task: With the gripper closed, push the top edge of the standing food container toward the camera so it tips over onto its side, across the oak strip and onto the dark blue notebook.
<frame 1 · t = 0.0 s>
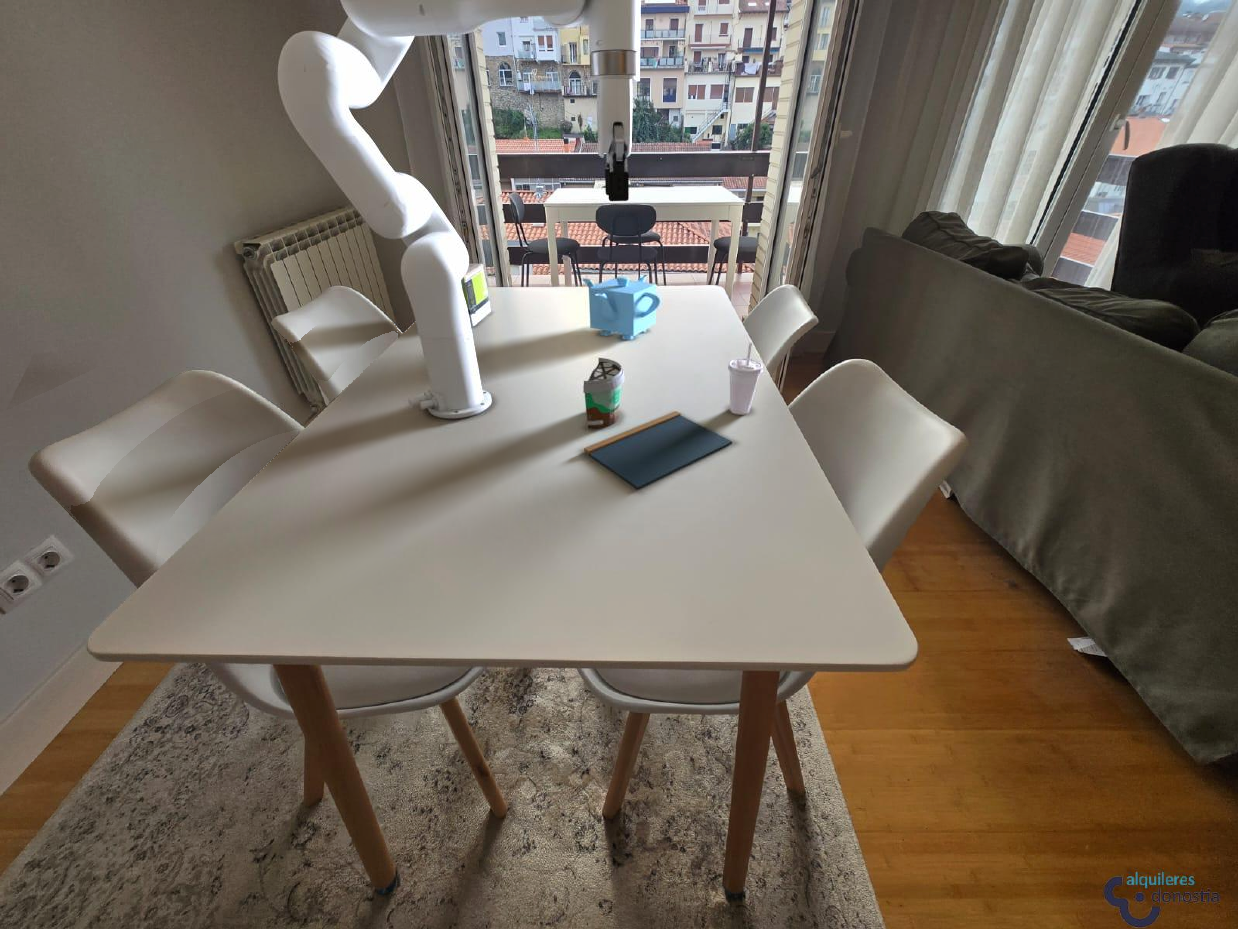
hand: (616, 197, 85), 37 cm above the table, tool pointing down, fingers open, 9 cm apart
tea box: (467, 319, 153), on the table
dark blue notebook: (661, 449, 88), on the table
food container: (608, 419, 99), on the table
smoothie: (739, 411, 101), on the table
teakettle: (620, 332, 142), on the table
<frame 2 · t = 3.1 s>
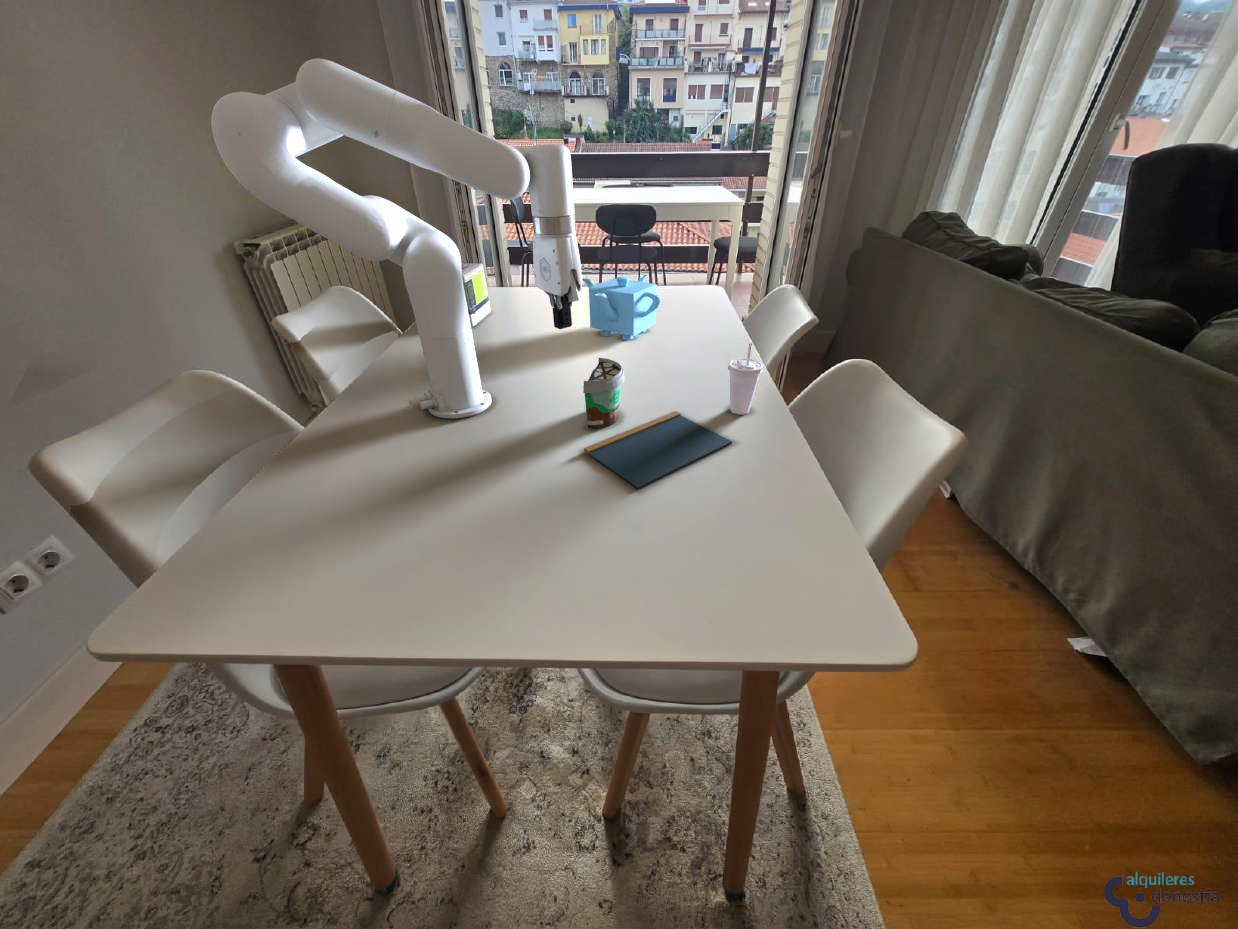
hand: (563, 326, 101), 14 cm above the table, tool pointing down, fingers closed
nothing on the table moved.
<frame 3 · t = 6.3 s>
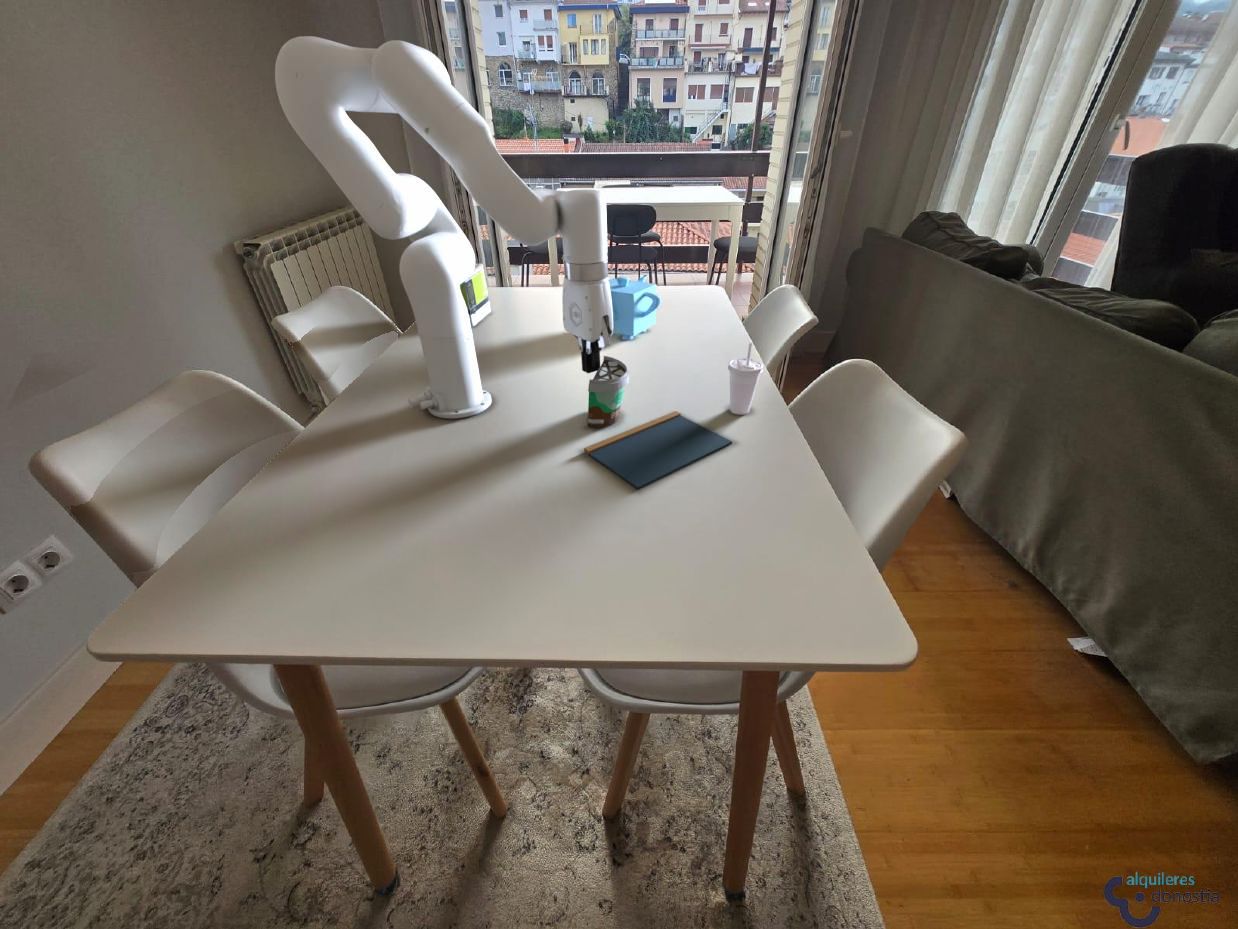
hand: (591, 370, 98), 8 cm above the table, tool pointing down, fingers closed
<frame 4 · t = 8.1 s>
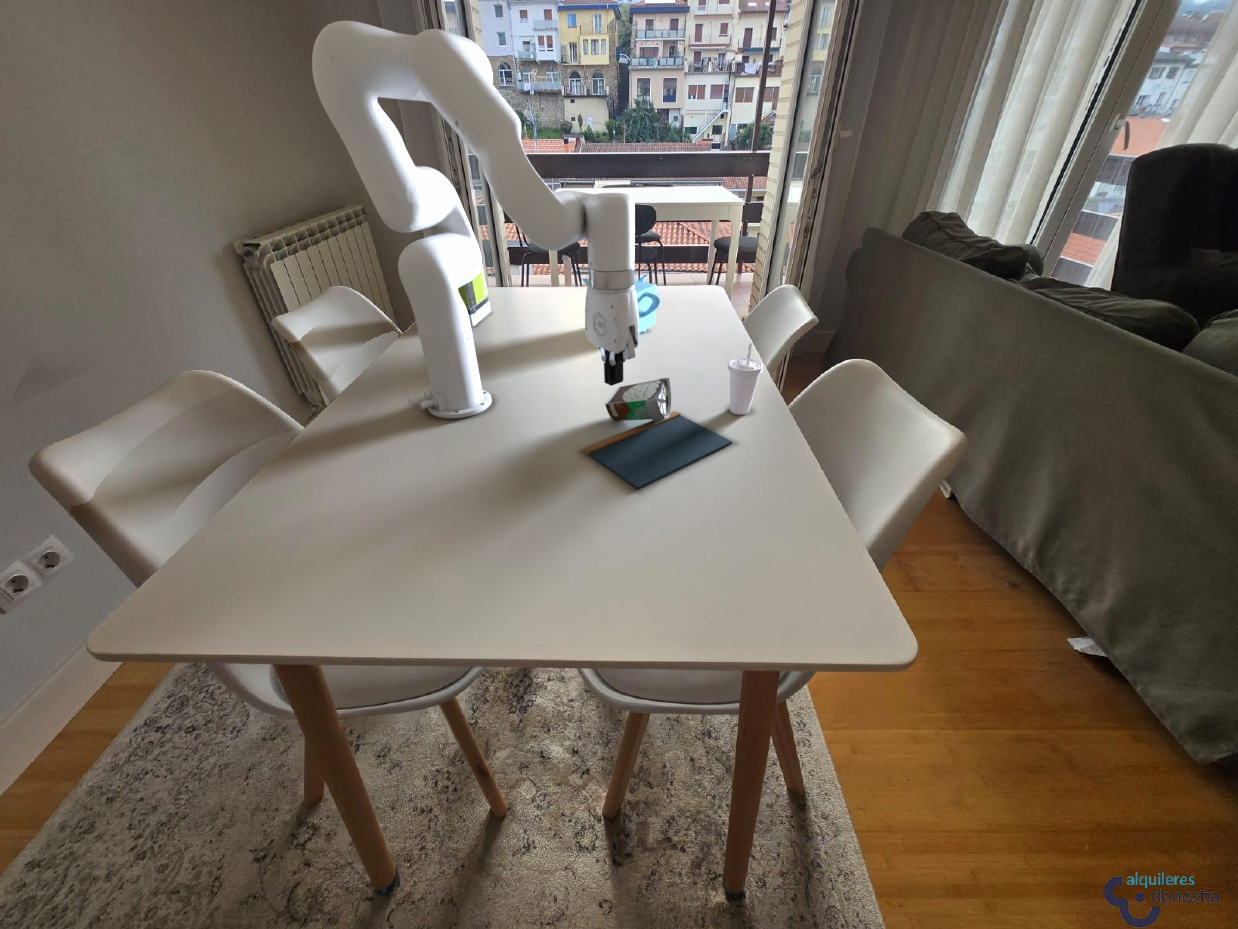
hand: (614, 382, 93), 8 cm above the table, tool pointing down, fingers closed
food container: (615, 410, 97), point 2 cm above the table, touching dark blue notebook
everything else where it was.
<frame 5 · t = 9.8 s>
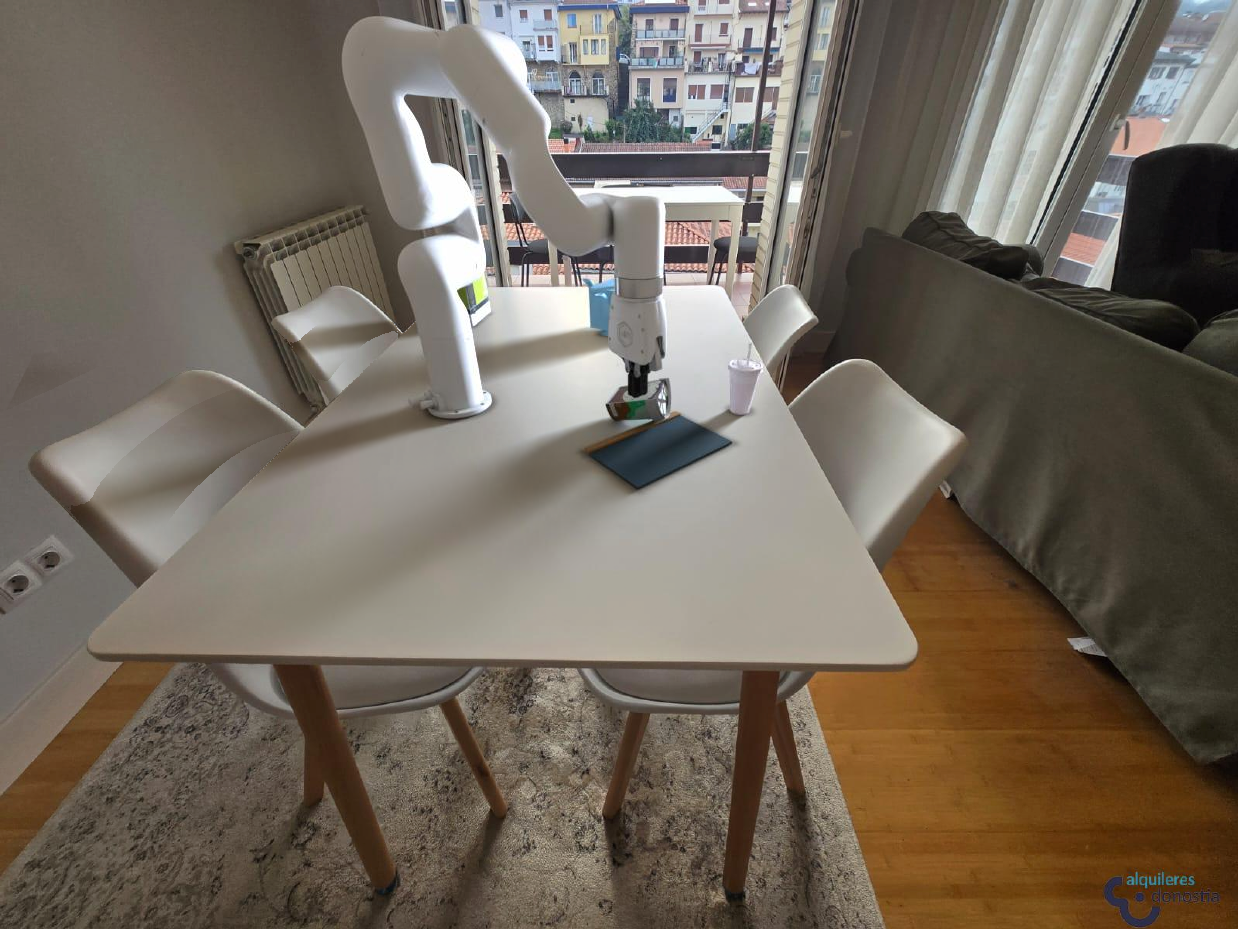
hand: (637, 394, 88), 8 cm above the table, tool pointing down, fingers closed
nothing on the table moved.
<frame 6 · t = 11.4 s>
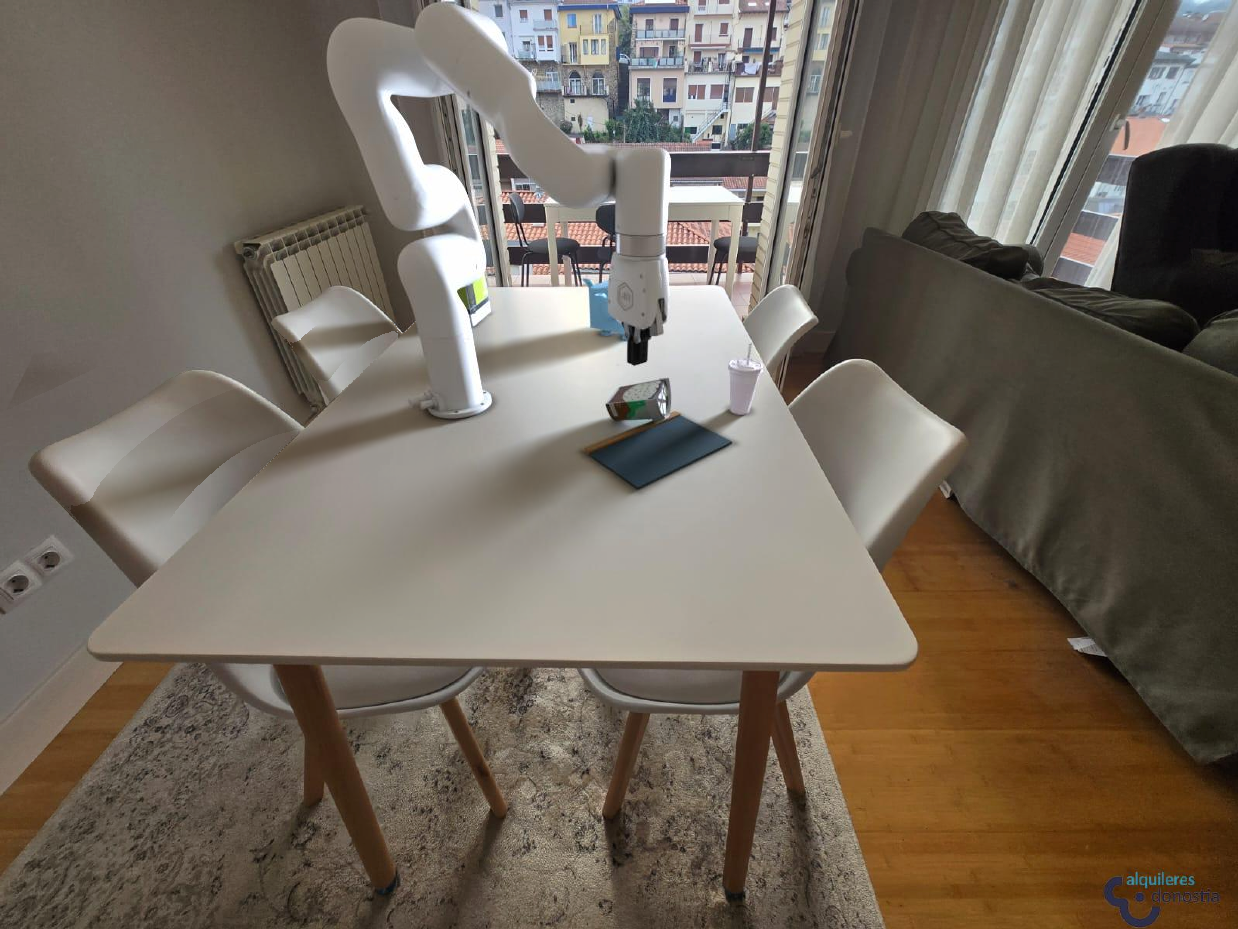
hand: (637, 362, 85), 14 cm above the table, tool pointing down, fingers closed
nothing on the table moved.
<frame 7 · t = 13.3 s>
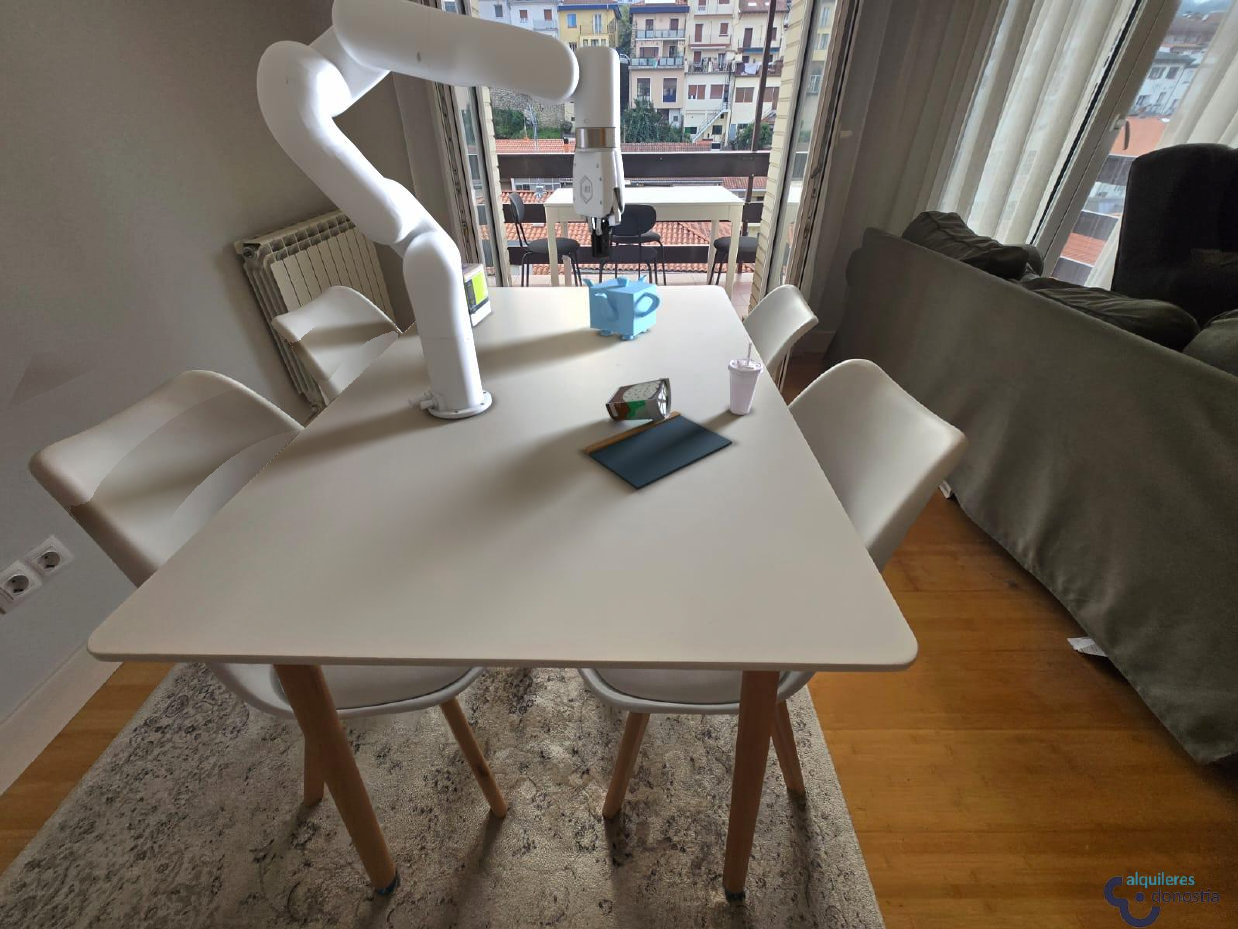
hand: (600, 256, 95), 27 cm above the table, tool pointing down, fingers closed
nothing on the table moved.
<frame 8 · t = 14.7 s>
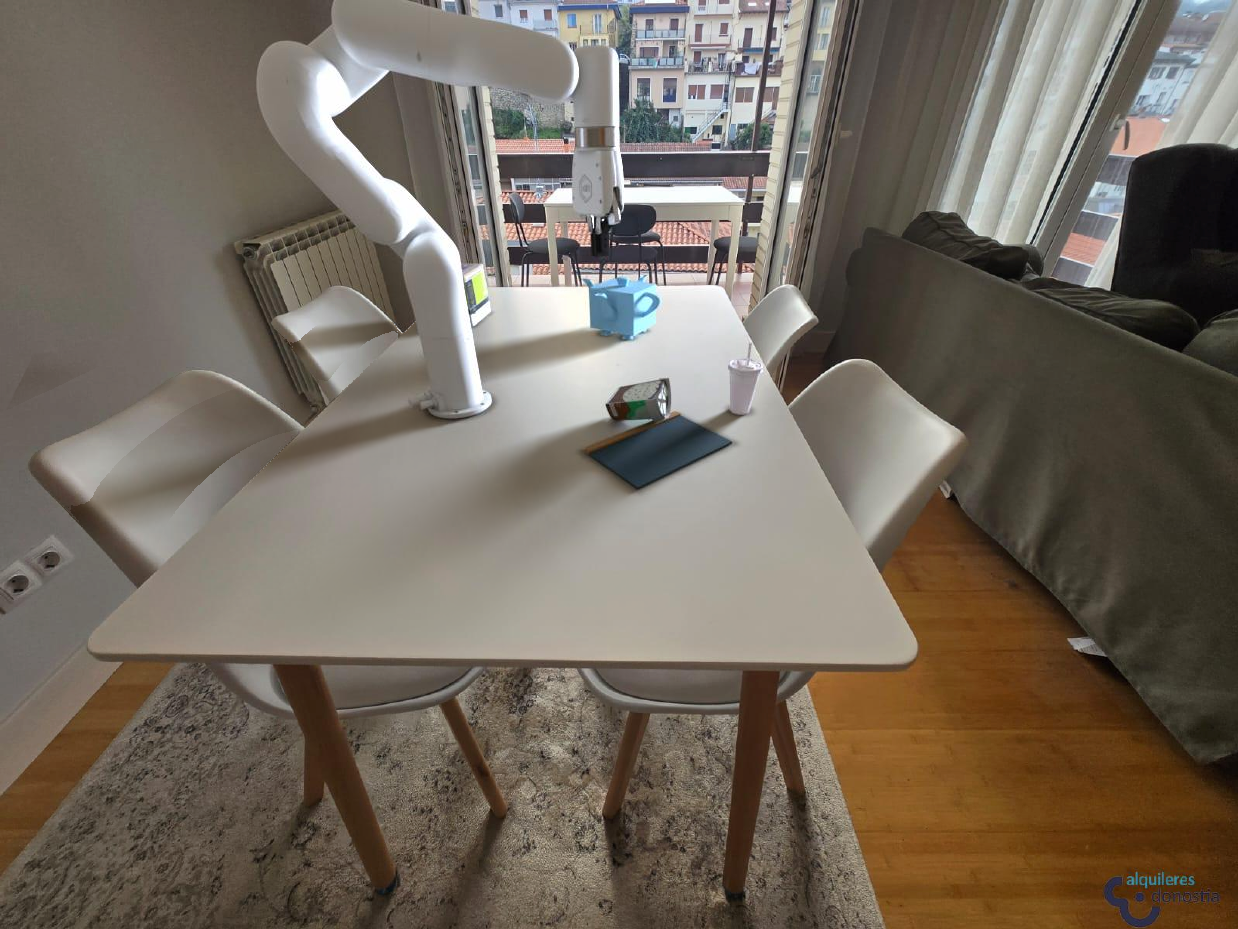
hand: (600, 255, 96), 27 cm above the table, tool pointing down, fingers closed
nothing on the table moved.
at the end: food container tilted 75°; food container inside the target area (5.7 cm from its centre), point 1.8 cm above the table; the gripper is holding nothing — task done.
